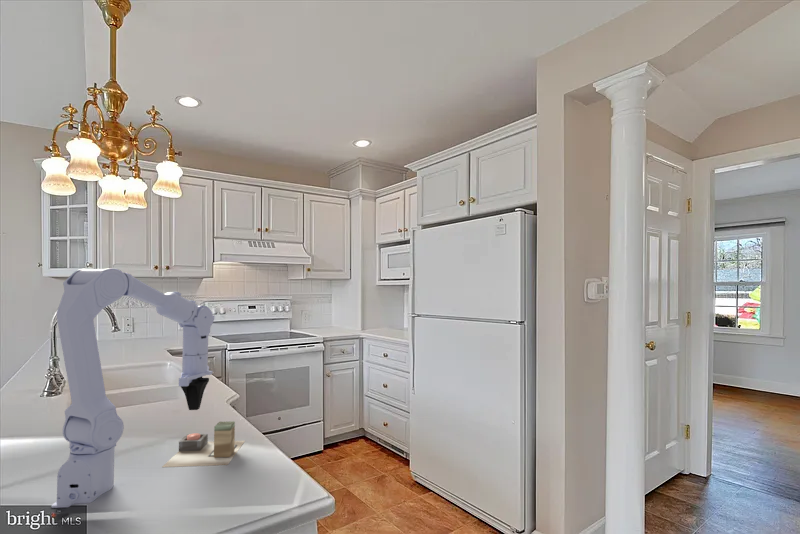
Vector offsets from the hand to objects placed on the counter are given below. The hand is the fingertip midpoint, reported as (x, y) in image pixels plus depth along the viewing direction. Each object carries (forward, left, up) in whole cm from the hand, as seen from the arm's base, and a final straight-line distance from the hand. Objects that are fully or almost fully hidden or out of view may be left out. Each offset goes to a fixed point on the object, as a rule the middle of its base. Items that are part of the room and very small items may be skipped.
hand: (194, 409), depth 108 cm
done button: (0, 0, -9) cm, 9 cm away
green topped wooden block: (-6, -9, -9) cm, 14 cm away
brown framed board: (-4, -4, -10) cm, 12 cm away
